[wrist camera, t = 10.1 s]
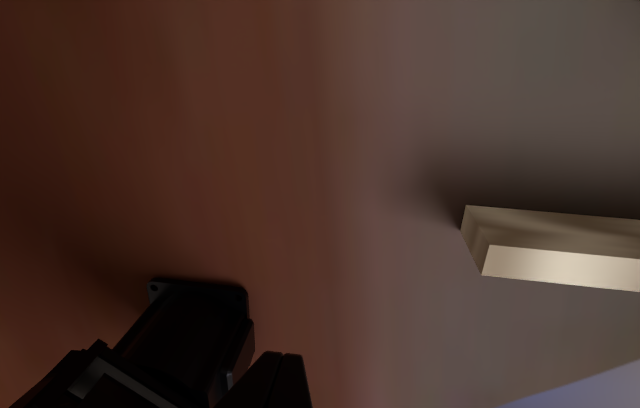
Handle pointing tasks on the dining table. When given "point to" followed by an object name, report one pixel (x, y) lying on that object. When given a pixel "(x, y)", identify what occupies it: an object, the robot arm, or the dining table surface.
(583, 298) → the dining table surface
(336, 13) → the dining table surface
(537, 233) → the birch bracket
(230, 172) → the dining table surface
